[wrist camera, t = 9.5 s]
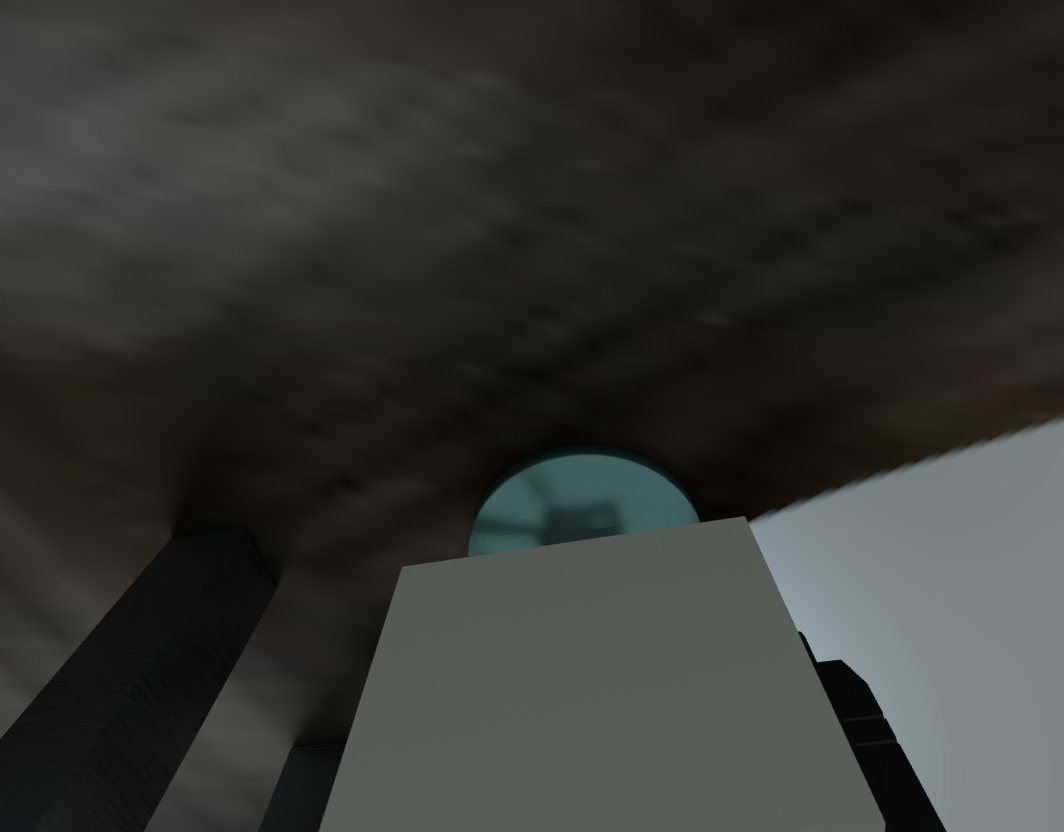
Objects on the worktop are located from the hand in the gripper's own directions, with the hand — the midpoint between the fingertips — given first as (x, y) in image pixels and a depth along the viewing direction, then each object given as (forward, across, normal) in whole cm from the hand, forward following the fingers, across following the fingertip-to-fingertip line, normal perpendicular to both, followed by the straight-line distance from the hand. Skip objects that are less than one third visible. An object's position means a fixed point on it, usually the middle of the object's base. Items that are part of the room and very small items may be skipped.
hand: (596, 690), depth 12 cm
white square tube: (+1, 0, 0) cm, 1 cm away
